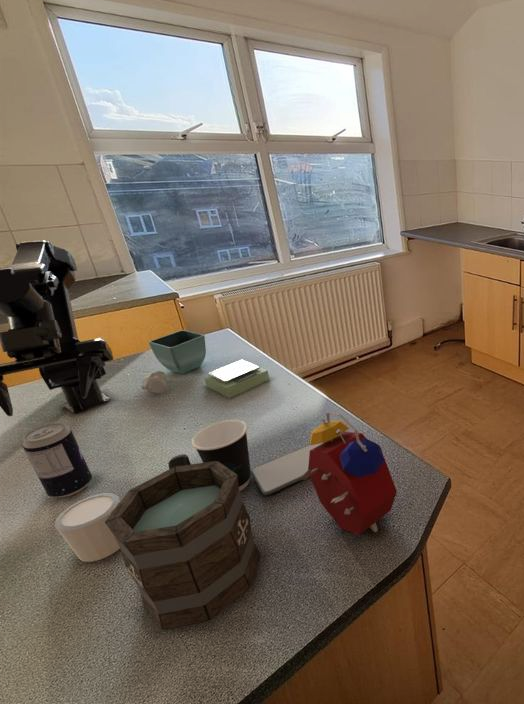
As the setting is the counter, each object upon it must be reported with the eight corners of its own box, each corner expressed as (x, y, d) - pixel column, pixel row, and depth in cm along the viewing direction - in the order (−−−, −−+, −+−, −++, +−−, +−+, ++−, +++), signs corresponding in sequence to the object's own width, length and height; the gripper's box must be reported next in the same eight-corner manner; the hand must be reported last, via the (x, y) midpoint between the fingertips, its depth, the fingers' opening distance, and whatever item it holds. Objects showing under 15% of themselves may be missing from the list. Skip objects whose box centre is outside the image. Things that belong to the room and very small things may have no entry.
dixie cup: (228, 507, 72) (212, 454, 67) (197, 492, 74) (180, 440, 70) (270, 476, 78) (257, 426, 74) (240, 463, 81) (226, 415, 77)
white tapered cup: (98, 570, 61) (80, 534, 58) (60, 561, 62) (40, 525, 59) (145, 530, 67) (131, 496, 64) (109, 523, 68) (94, 489, 66)
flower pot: (213, 364, 117) (205, 334, 113) (180, 379, 109) (170, 347, 106) (191, 358, 119) (182, 329, 116) (157, 373, 112) (147, 342, 108)
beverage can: (101, 481, 76) (76, 425, 72) (61, 504, 71) (32, 446, 67) (81, 473, 78) (55, 418, 74) (40, 495, 73) (10, 438, 69)
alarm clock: (401, 526, 69) (390, 422, 61) (354, 565, 62) (335, 454, 55) (347, 484, 77) (331, 388, 69) (300, 515, 70) (277, 412, 63)
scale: (206, 386, 106) (203, 375, 105) (246, 369, 114) (244, 359, 113) (229, 398, 102) (226, 387, 100) (269, 379, 110) (267, 369, 109)
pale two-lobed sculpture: (148, 388, 107) (170, 377, 109) (148, 402, 101) (171, 390, 103) (136, 375, 105) (159, 364, 107) (135, 389, 99) (159, 376, 101)
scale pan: (208, 375, 105) (207, 373, 105) (242, 361, 112) (242, 359, 112) (225, 383, 102) (225, 381, 102) (260, 368, 109) (259, 366, 108)
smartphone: (349, 455, 83) (263, 494, 73) (349, 459, 83) (264, 498, 73) (330, 435, 88) (249, 469, 78) (331, 439, 88) (250, 473, 79)
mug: (268, 590, 58) (244, 506, 53) (141, 654, 51) (97, 564, 45) (248, 500, 73) (228, 427, 67) (147, 539, 66) (114, 461, 60)
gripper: (-74, 320, 67) (-62, 412, 63) (88, 297, 78) (106, 374, 74) (-36, 348, 76) (-24, 430, 72) (105, 323, 87) (122, 394, 83)
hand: (48, 406), depth 75 cm, fingers open, 9 cm apart
